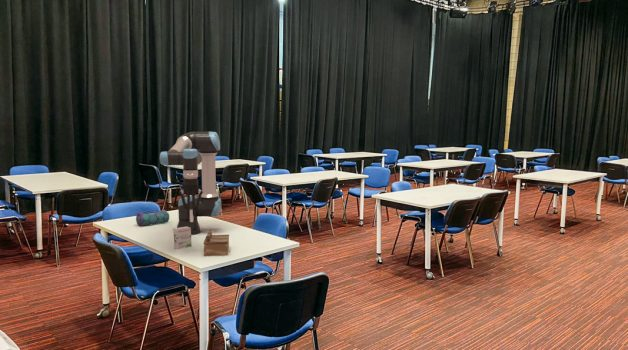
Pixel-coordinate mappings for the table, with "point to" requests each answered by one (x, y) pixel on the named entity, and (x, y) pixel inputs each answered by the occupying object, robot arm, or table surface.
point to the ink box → (182, 237)
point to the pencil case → (152, 218)
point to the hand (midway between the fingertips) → (191, 221)
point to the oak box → (216, 249)
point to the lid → (216, 238)
